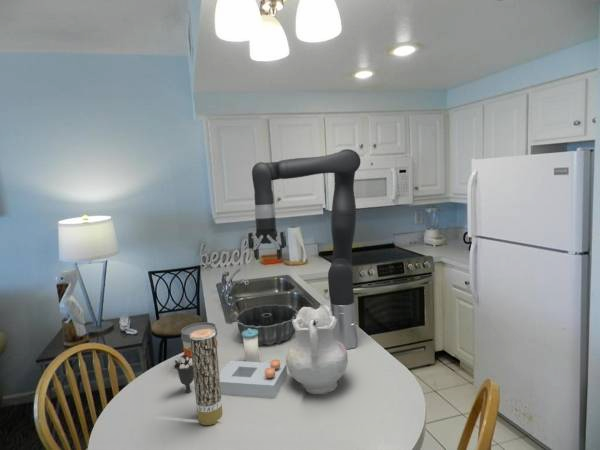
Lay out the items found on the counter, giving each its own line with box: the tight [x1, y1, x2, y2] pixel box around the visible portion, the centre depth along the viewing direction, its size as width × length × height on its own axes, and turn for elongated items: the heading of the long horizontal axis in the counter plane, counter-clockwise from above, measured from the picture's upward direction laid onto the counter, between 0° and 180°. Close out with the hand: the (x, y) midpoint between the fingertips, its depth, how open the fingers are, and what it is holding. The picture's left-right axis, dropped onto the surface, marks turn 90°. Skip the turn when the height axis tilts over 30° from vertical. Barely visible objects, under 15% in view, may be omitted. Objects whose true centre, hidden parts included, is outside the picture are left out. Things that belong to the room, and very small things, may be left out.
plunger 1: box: [264, 368, 275, 379], centre depth 121 cm, size 3×3×4 cm
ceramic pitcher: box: [285, 304, 349, 395], centre depth 123 cm, size 22×20×25 cm
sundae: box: [173, 348, 194, 394], centre depth 123 cm, size 7×7×15 cm
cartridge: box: [241, 328, 260, 362], centre depth 139 cm, size 6×6×14 cm
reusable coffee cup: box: [180, 321, 218, 355], centre depth 140 cm, size 13×13×15 cm
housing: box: [219, 360, 288, 399], centre depth 126 cm, size 20×14×5 cm
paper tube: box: [190, 329, 223, 426], centre depth 109 cm, size 7×7×25 cm
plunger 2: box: [269, 359, 281, 371], centre depth 126 cm, size 3×3×4 cm
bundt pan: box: [234, 303, 299, 346], centre depth 166 cm, size 26×26×10 cm
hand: (268, 259), depth 148 cm, fingers open, 8 cm apart
